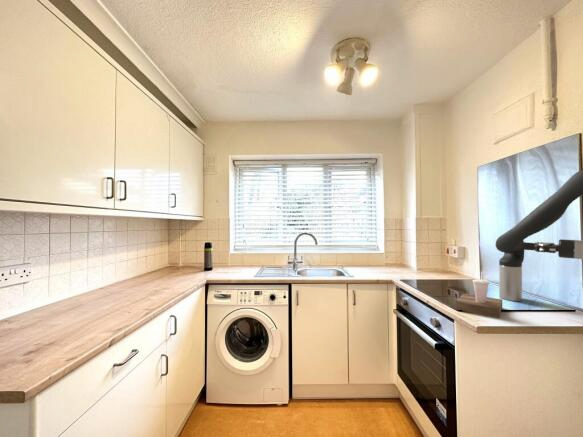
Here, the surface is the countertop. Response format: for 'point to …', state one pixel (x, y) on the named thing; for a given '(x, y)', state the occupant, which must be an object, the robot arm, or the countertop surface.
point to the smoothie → (480, 289)
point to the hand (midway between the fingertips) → (522, 245)
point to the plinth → (479, 305)
